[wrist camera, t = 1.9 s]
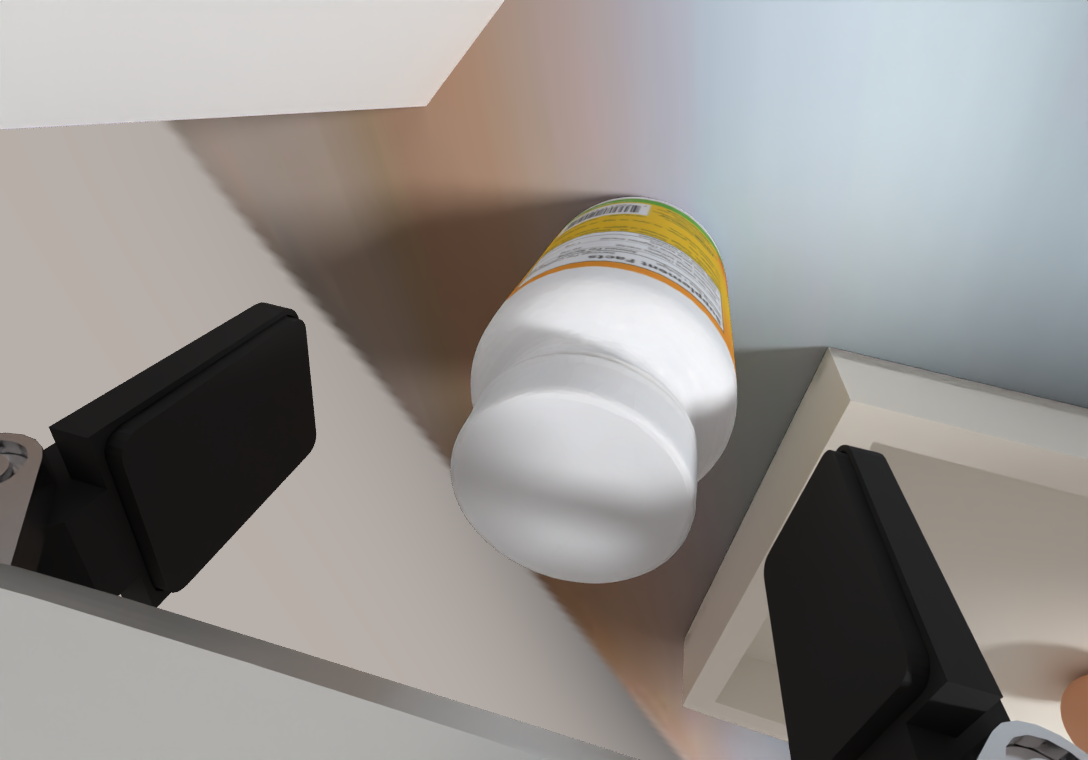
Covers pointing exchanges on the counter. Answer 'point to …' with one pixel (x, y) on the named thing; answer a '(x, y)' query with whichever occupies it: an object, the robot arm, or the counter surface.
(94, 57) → the milk
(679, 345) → the supplement bottle
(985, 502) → the tray
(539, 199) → the counter surface
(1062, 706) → the ball
